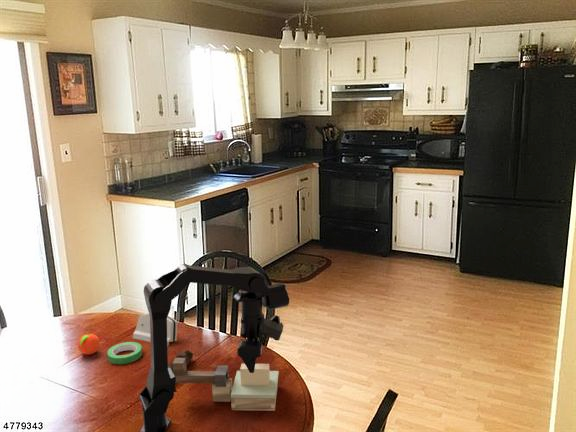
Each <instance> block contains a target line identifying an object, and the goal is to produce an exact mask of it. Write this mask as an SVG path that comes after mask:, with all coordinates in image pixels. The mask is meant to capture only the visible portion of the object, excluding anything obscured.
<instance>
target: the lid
mask: <svg viewBox="0 0 576 432" xmlns="http://www.w3.org/2000/svg"><path fill="white" fill-rule="evenodd" d="M270 368H271V367H270V363H255V369H254V373H250V372H249V370H248V368H247V367H246V365H245V363H241V364H240V368H239V370H236V374H235V377H234V380H233V383H232V391H231V398H276V399H277V396H276V392H277V393H278V388H277V383H278V381H279V373H280V371H279V370H271V369H270ZM278 384H279V383H278Z"/></svg>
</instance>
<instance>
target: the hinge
mask: <svg viewBox="0 0 576 432" xmlns="http://www.w3.org/2000/svg"><path fill="white" fill-rule="evenodd" d="M177 338H178V321H177V320H176V319H174V318H173V317H171V316H169V315H168V317H167V347H168V346H169V345H170V343H171V342H177ZM132 339H135V340H139V341H144V342H147V343H151V339H150V315H149V312H148V313H143V314H141V315H140V314H139V317H138V319H137V323H136V327H135V330H134V332H133V333H132Z"/></svg>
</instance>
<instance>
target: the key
mask: <svg viewBox="0 0 576 432" xmlns="http://www.w3.org/2000/svg"><path fill="white" fill-rule="evenodd" d="M172 362H173V363H172ZM172 362H171V363H172V364H173V373H174V375H175V377H176V383H175V384H213V383H215V372H216V370H214V371H213V370H209V371H208V370H203V371H202V370H197V371H195V370H187V366H186V358H176V357H175V358H174V359H173V360H172Z"/></svg>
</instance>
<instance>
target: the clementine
mask: <svg viewBox="0 0 576 432" xmlns="http://www.w3.org/2000/svg"><path fill="white" fill-rule="evenodd" d="M100 344H101V342H100V339H99V337H98V336H97V335H96V334H93V333H86V334H84V335H82V336H81V337H80V338H79V340H78V343H77V348H78V350H79V352H80V353H82V354H84V355H86V356H89V355H93V354H95V353H96V352H97V351H98V349H100Z"/></svg>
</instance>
